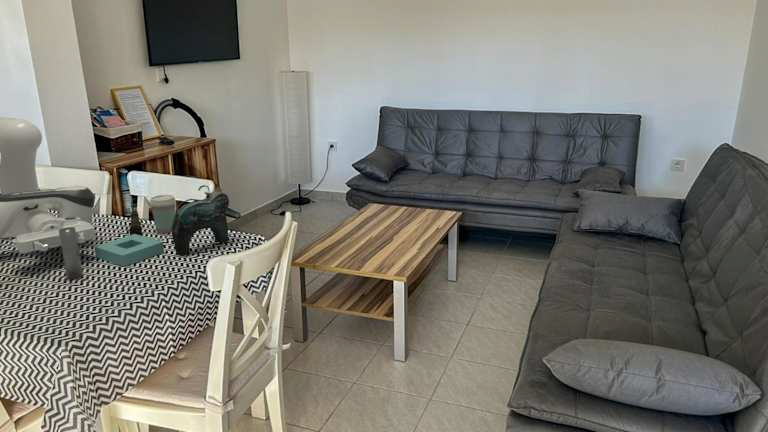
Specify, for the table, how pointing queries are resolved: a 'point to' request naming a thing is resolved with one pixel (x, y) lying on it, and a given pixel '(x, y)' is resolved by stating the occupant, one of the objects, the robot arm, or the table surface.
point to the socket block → (129, 250)
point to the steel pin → (71, 253)
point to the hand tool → (135, 224)
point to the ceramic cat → (200, 219)
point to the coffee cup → (163, 212)
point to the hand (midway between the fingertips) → (63, 244)
